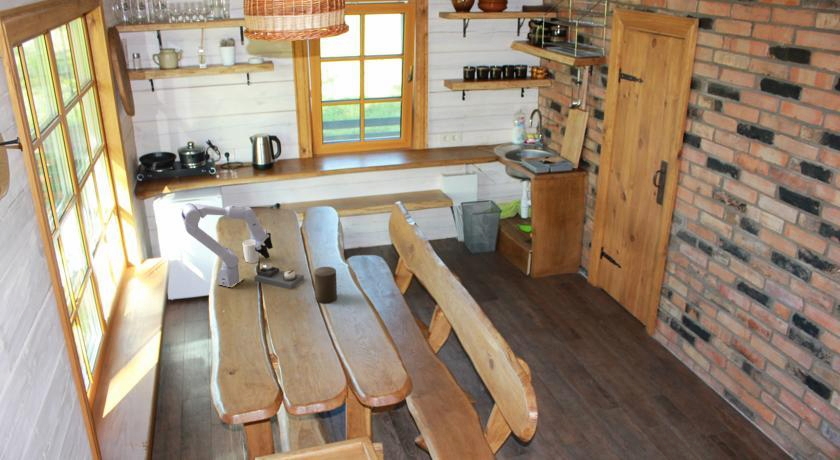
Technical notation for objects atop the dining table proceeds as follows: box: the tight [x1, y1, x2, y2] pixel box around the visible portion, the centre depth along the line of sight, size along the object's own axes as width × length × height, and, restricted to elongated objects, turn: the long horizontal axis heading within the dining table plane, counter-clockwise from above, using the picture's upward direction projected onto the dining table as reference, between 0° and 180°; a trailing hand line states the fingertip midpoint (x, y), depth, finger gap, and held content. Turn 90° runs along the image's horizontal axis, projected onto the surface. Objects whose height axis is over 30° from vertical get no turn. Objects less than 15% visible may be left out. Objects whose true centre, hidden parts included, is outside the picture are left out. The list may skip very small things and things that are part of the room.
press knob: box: [262, 262, 274, 271], centre depth 333 cm, size 4×4×2 cm
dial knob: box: [284, 269, 296, 279], centre depth 329 cm, size 5×5×2 cm
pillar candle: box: [314, 266, 338, 304], centre depth 315 cm, size 10×10×15 cm
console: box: [254, 266, 305, 290], centre depth 332 cm, size 11×20×4 cm, turn 66°
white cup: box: [242, 238, 260, 264], centre depth 352 cm, size 8×8×10 cm
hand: (269, 252), depth 335 cm, fingers open, 7 cm apart
